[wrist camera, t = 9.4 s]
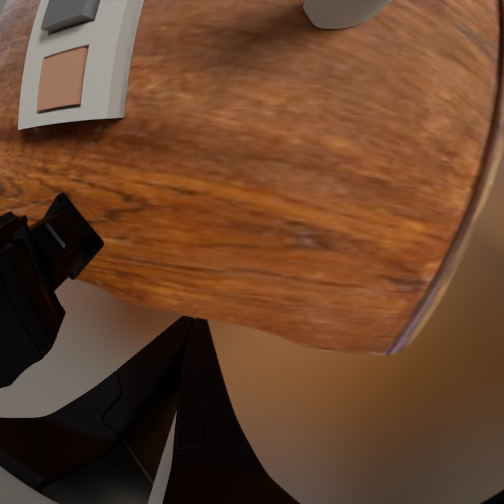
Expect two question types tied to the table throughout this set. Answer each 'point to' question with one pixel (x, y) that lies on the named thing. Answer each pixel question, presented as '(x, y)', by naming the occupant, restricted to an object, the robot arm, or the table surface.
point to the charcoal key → (68, 14)
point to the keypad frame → (97, 64)
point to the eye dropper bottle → (342, 12)
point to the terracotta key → (62, 80)
